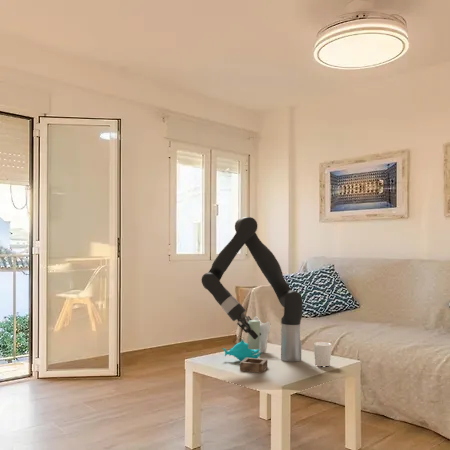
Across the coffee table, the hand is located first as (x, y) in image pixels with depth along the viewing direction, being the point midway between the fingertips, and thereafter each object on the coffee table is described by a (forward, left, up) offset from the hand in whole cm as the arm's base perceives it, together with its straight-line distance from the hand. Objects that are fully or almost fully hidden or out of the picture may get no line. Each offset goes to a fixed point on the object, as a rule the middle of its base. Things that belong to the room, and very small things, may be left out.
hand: (258, 336), depth 213 cm
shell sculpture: (-8, -34, -14) cm, 38 cm away
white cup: (-31, -5, -14) cm, 35 cm away
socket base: (+2, -1, -14) cm, 14 cm away
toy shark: (+5, -15, -14) cm, 21 cm away
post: (+2, -1, -5) cm, 6 cm away
